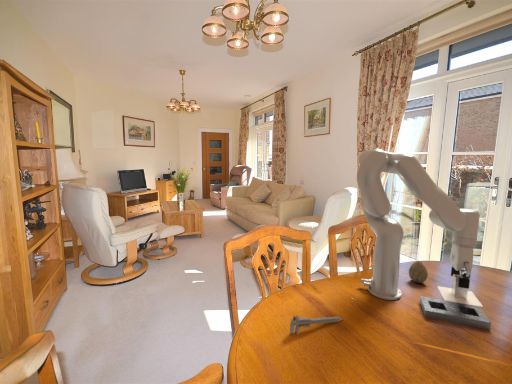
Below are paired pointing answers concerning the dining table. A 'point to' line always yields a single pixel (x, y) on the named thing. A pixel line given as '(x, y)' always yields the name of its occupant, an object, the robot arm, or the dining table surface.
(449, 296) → the tile
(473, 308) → the block with square recesses
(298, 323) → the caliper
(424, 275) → the decorative egg
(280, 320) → the dining table surface
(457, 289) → the steel block
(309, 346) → the dining table surface
